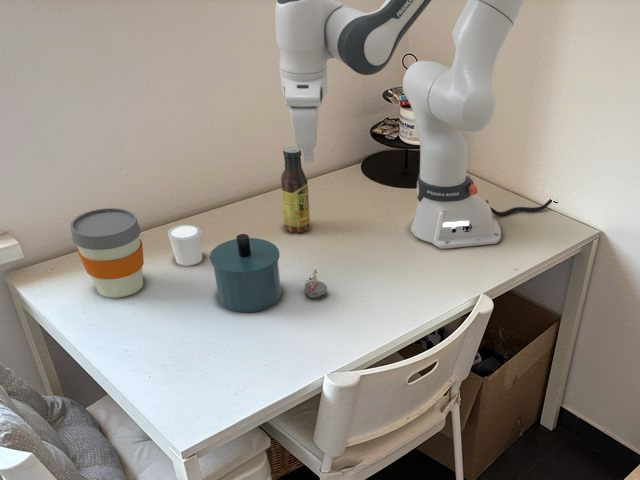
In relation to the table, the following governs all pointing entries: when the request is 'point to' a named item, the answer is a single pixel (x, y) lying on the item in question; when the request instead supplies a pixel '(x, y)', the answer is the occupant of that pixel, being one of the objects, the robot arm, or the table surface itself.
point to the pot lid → (244, 255)
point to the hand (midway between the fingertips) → (310, 151)
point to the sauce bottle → (294, 192)
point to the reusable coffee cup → (110, 250)
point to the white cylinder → (186, 244)
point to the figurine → (315, 287)
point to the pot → (249, 289)
